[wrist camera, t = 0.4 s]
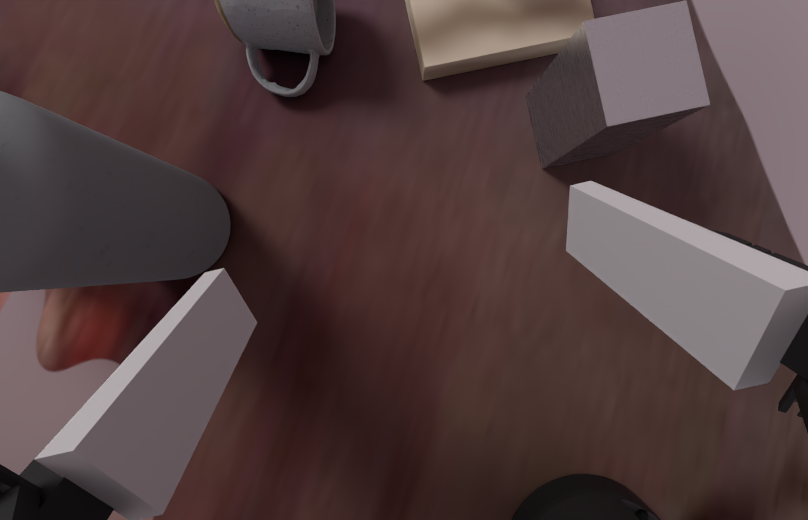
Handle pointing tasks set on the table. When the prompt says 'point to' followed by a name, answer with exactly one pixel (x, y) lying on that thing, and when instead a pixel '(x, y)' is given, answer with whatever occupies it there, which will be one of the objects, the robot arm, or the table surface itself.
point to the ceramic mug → (282, 32)
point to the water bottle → (96, 208)
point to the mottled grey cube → (617, 84)
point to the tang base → (490, 31)
